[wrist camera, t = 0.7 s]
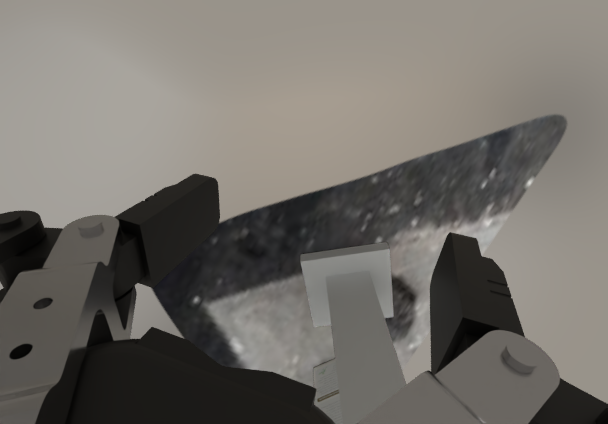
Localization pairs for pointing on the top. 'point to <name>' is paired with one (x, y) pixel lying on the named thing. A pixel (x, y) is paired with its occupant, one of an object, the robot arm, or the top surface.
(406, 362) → the top surface
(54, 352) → the robot arm
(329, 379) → the syrup box
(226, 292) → the top surface
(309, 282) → the stand
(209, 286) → the top surface
